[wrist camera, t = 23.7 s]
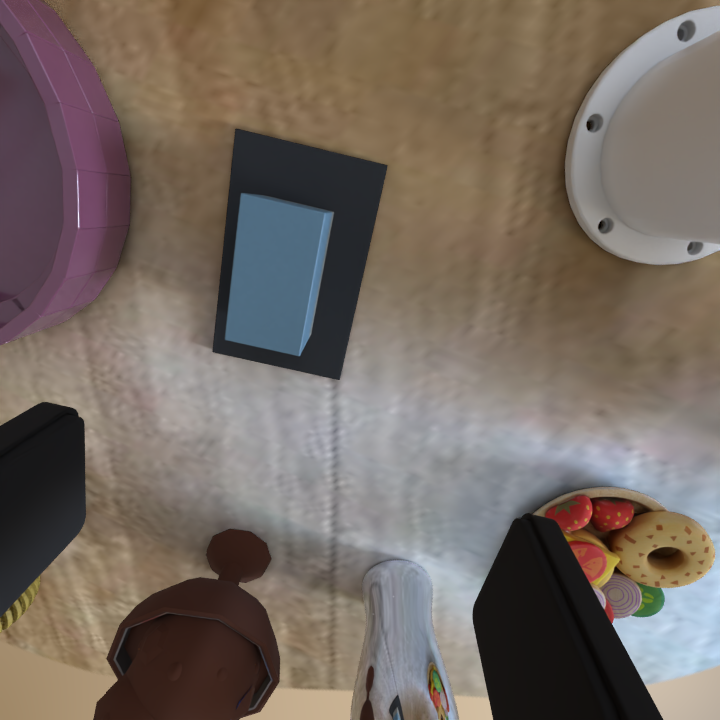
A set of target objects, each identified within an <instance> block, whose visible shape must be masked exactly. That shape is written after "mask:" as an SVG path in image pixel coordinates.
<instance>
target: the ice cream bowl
mask: <svg viewBox="0 0 720 720" xmlns="http://www.w3.org/2000/svg"><path fill="white" fill-rule="evenodd" d="M206 556H207V559H208V561H209V564H210V566H211V569H212V570H213V571H214V572H215V573H217V574H218V575H219V578H218V580H216V579H209V578H201V577H199V578H194V579H189V580H186V581H184V582H181V583H179V584H176V585H174V586H171V587H169V588H167V589H164V590H162V591H159V592H157V593H154V594H152V595H151V596H150V597H148V598H147V599H145V600H144V601H143V602H141V603H140V604H138V605H137V606H136V607H135V608H134V609H133V610H132V611H131V613H130V614H129V615H128V616H127V617H126V618H125V619H124V620H123V622H122V623H121V624H120V625H119V628H118V630H117V633H116V636H115V638H114V641H113V643H112V646H111V648H110V651H109V653H108V656H107V660H108V662H109V664H110V666H111V668H112V669H113V671H114V673H115V675H116V677H117V678H118V681H117V682H116V683H115V684H114V685H113V686H112V687H111V688H110V689H109V690H108V691H107V692H106V694H105V695H104V696H103V697H102V698H101V699H100V700H99V701H98V702H97V704H96V709H95V714H94V719H93V720H239V719H240V718H243V717H246V716H249V715H252V714H255V713H258V712H260V711H261V710H262V708H263V707H264V705H265V704H266V702H267V700H268V699H269V697H270V696H271V694H272V693H273V691H274V690H275V688H276V686H277V685H278V683H279V677H280V656H279V651H278V646H277V642H276V638H275V635H274V632H273V629H272V626H271V624H270V621H269V618H268V615H267V612H266V609H265V608H264V607H263V606H262V605H261V603H260V602H259V601H258V600H257V599H256V598H255V597H253V596H252V595H250V594H249V593H248V592H246V591H245V590H243V589H242V588H240V587H239V586H238V585H239V582H242V583H247V582H249V581H252V580H254V579H257V578H259V577H261V576H262V575H263V574H264V572H265V570H266V568H267V567H268V565H269V563H270V561H271V556H270V553H269V550H268V547H267V544H266V543H265V542H264V541H263V540H261V539H260V538H258V537H257V536H256V535H254V534H253V533H252V532H249V531H242V530H234V529H229V530H226V531H224V532H222V533H219V534H217V535H215V536H213V538H212V540H211V542H210V544H209V547H208V549H207V553H206Z"/></svg>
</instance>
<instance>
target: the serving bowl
mask: <svg viewBox="0 0 720 720" xmlns="http://www.w3.org/2000/svg"><path fill="white" fill-rule="evenodd" d="M130 196H131V177H130V170H129V166H128V161H127V156H126V152H125V147H124V142H123V138H122V133H121V128H120V124H119V122H118V118H117V116H116V114H115V112H114V109H113V107H112V105H111V103H110V100H109V98H108V96H107V94H106V92H105V89H104V87H103V85H102V83H101V80H100V78H99V76H98V74H97V71H96V69H95V67H94V66H93V64H92V62H91V61H90V59H89V58H88V57H87V55H86V54H85V52H84V51H83V50H82V48H81V47H80V46H79V44H78V43H77V41H76V40H75V39H74V37H73V36H72V34H71V33H70V32H69V30H68V29H67V27H66V26H65V25H64V23H63V22H62V20H61V19H60V18H59V16H58V15H57V13H56V12H55V11H54V10H53V9H52V8H51V7H50V6H49V5H48V4H47V3H46V2H45V1H44V0H0V345H2V344H5V343H8V342H11V341H14V340H16V339H19V338H22V337H25V336H27V335H30V334H33V333H36V332H38V331H41V330H44V329H46V328H49V327H52V326H55V325H57V324H60V323H63V322H65V321H67V320H68V319H69V318H71V317H72V316H73V315H75V314H76V313H77V312H79V311H80V310H81V309H83V308H84V307H85V306H87V305H88V304H89V303H91V302H92V301H94V299H96V297H97V296H98V294H99V293H100V291H101V290H102V288H103V287H104V286H105V284H106V283H107V281H108V280H109V278H110V277H111V275H112V274H113V272H114V271H115V270H116V268H117V265H118V262H119V259H120V255H121V252H122V249H123V245H124V242H125V239H126V236H127V232H128V229H129V225H130Z"/></svg>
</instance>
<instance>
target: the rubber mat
mask: <svg viewBox="0 0 720 720" xmlns="http://www.w3.org/2000/svg"><path fill="white" fill-rule="evenodd" d="M386 170H387V165H384V164H380V163H376V162H371V161H367V160H363V159H359V158H355V157H351V156H347V155H343V154H339V153H334V152H330V151H326V150H322V149H318V148H314V147H310V146H306V145H302V144H297V143H293V142H289V141H285V140H281V139H277V138H273V137H269V136H265V135H260V134H256V133H252V132H248V131H244V130H240V129H235V139H234V148H233V158H232V168H231V178H230V187H229V197H228V207H227V217H226V226H225V236H224V246H223V256H222V265H221V275H220V285H219V295H218V304H217V314H216V324H215V334H214V343H213V352H215V353H219V354H224V355H228V356H233V357H237V358H242V359H246V360H251V361H255V362H260V363H264V364H269V365H274V366H278V367H283V368H287V369H292V370H296V371H301V372H305V373H310V374H314V375H319V376H323V377H328V378H332V379H337V380H340V376H341V371H342V367H343V362H344V358H345V353H346V349H347V345H348V340H349V336H350V331H351V327H352V322H353V318H354V313H355V309H356V304H357V300H358V295H359V291H360V287H361V282H362V278H363V273H364V269H365V264H366V260H367V255H368V251H369V246H370V242H371V237H372V233H373V228H374V224H375V220H376V215H377V211H378V206H379V202H380V197H381V193H382V188H383V184H384V179H385V175H386ZM241 193H248V194H257V195H265V196H269V197H273V198H278V199H282V200H286V201H290V202H295V203H299V204H303V205H307V206H312V207H316V208H320V209H324V210H328V211H333V212H334V215H333V221H332V226H331V231H330V237H329V242H328V247H327V253H326V258H325V263H324V269H323V274H322V279H321V284H320V290H319V295H318V300H317V306H316V311H315V316H314V322H313V327H312V332H311V335H310V337H309V339H308V341H307V343H306V345H305V347H304V349H303V351H302V353H301V354H300V356H296V355H291V354H287V353H282V352H278V351H273V350H268V349H264V348H259V347H255V346H250V345H246V344H241V343H237V342H232V341H228V340H225V331H226V322H227V313H228V304H229V295H230V286H231V277H232V268H233V259H234V250H235V241H236V232H237V223H238V214H239V205H240V196H241Z"/></svg>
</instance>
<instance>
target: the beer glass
mask: <svg viewBox="0 0 720 720" xmlns="http://www.w3.org/2000/svg"><path fill="white" fill-rule="evenodd" d="M362 594H363V600H364V606H365V613H366V628H365V636H364V642H363V647H362V652H361V656H360V661H359V666H358V671H357V676H356V681H355V686H354V693H353V699H352V706H351V717H350V720H459V716H458V711H457V706H456V702H455V698H454V695H453V691H452V687H451V683H450V680H449V677H448V674H447V670H446V667H445V664H444V661H443V658H442V655H441V652H440V648H439V645H438V642H437V639H436V635H435V632H434V626H433V620H432V600H433V585H432V581H431V578H430V576H429V575H428V573H427V572H426V571H425V570H424V569H423V568H422V567H420V566H418V565H417V564H415V563H412V562H409V561H404V560H389V561H385V562H382V563H379V564H377V565H375V566H374V567H372V568H371V569H370V570H369V571H368V572H367V574H366V575H365V577H364V579H363V583H362Z"/></svg>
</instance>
